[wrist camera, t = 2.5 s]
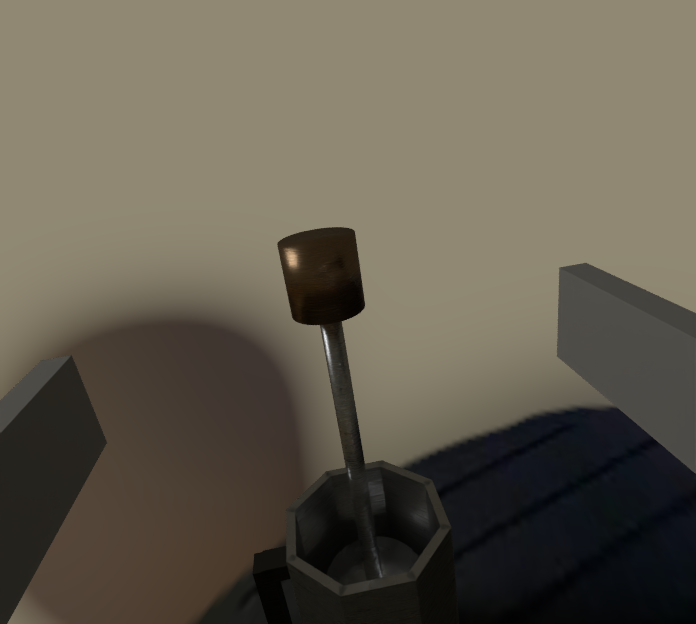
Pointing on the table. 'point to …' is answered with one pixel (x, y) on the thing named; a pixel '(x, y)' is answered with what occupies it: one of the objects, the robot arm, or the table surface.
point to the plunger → (340, 382)
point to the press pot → (340, 530)
